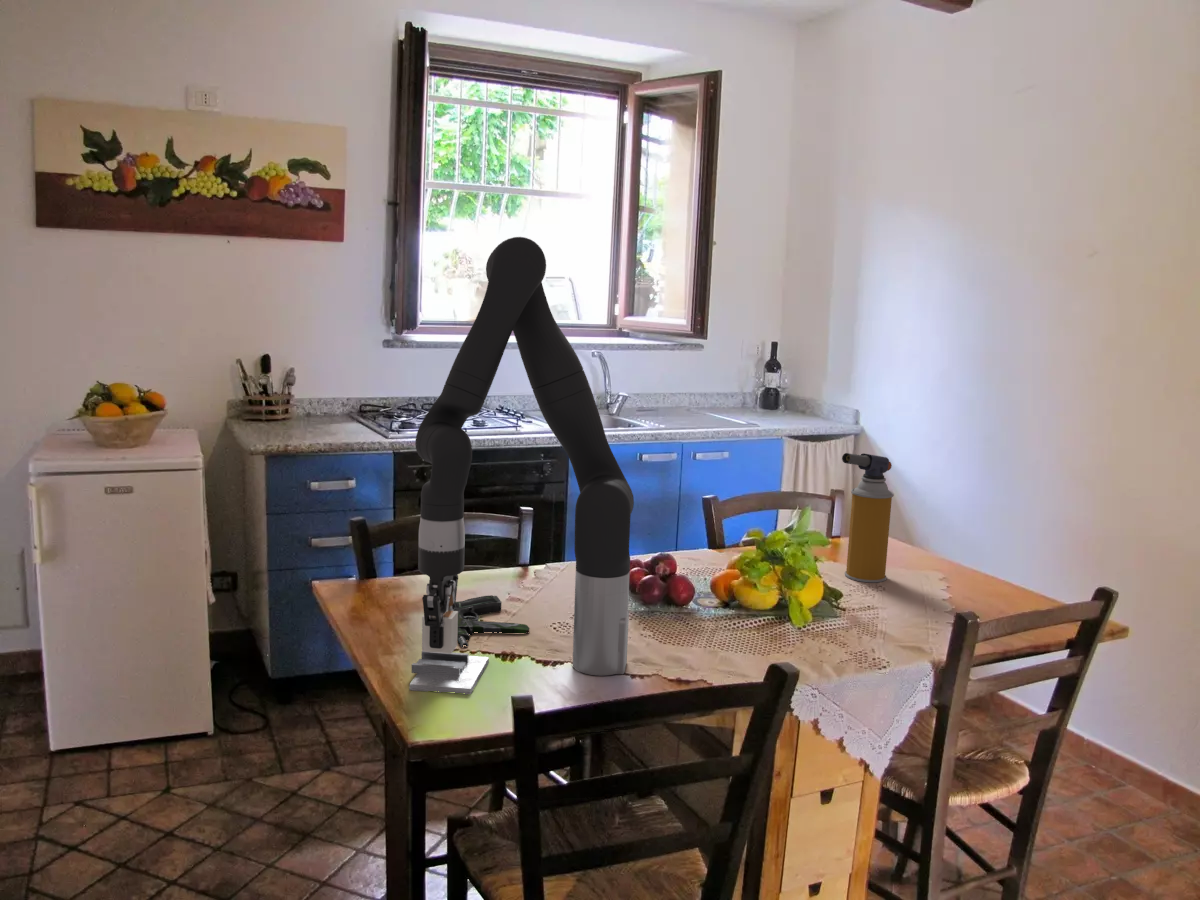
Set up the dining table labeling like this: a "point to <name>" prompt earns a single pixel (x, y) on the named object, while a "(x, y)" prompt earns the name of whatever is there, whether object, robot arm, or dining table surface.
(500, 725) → the dining table surface
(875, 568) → the blowtorch
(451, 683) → the rail panel
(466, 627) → the pistol
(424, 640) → the block
